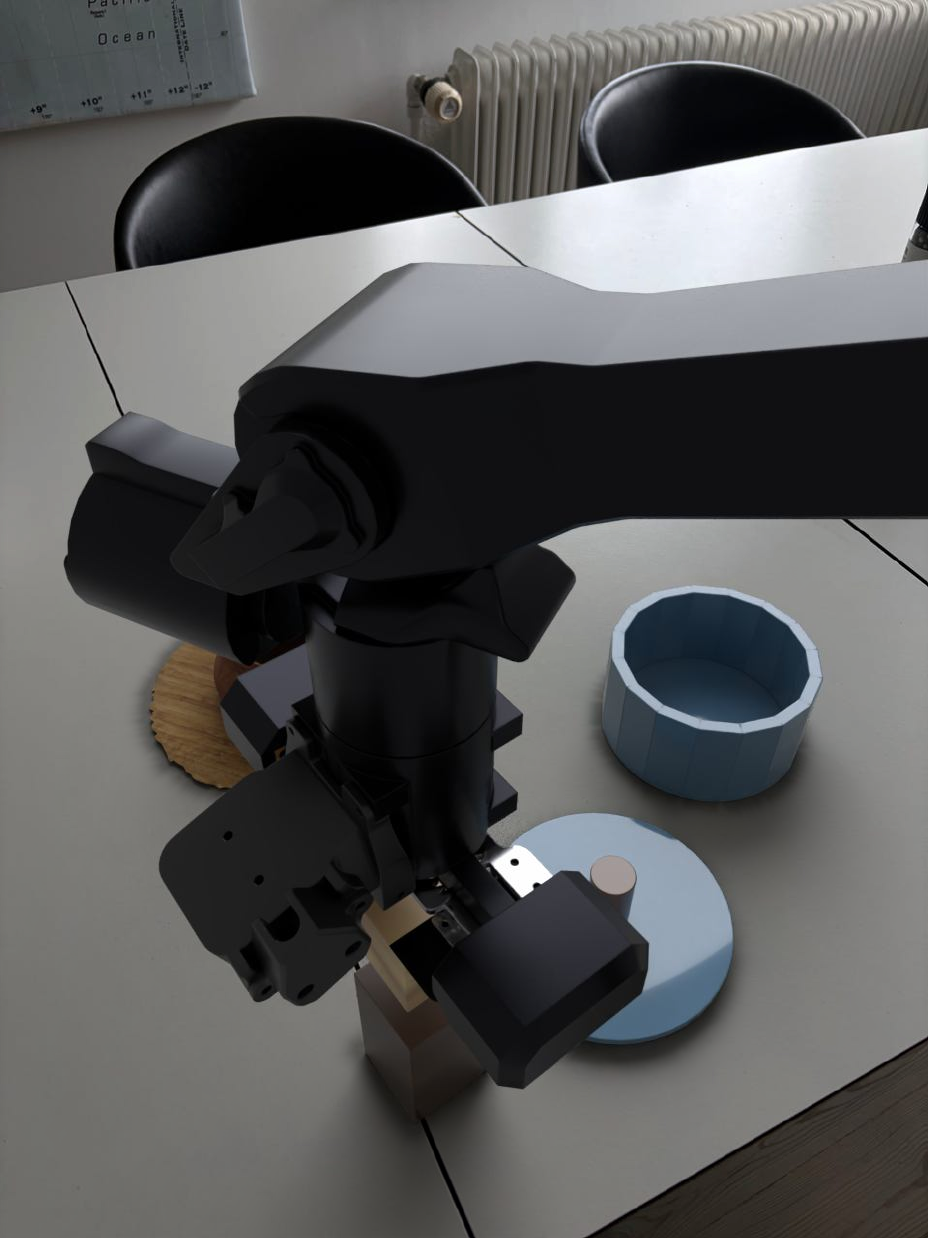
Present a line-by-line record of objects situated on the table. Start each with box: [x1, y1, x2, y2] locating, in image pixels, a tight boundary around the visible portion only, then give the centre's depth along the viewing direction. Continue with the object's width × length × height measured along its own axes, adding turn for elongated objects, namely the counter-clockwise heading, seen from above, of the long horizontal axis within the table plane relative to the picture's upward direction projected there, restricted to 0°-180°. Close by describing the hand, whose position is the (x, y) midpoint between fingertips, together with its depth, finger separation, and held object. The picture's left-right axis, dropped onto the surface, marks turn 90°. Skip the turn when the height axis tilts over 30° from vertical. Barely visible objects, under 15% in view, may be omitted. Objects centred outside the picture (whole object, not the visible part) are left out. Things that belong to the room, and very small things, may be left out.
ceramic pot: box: [148, 631, 306, 789], centre depth 65 cm, size 18×18×7 cm
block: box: [361, 883, 441, 1012], centre depth 41 cm, size 4×4×4 cm
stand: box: [353, 962, 486, 1125], centre depth 47 cm, size 4×4×8 cm
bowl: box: [601, 584, 824, 803], centre depth 64 cm, size 13×13×6 cm
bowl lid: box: [509, 812, 734, 1045], centre depth 53 cm, size 14×14×5 cm
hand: (419, 942), depth 42 cm, fingers closed on block, 4 cm apart
